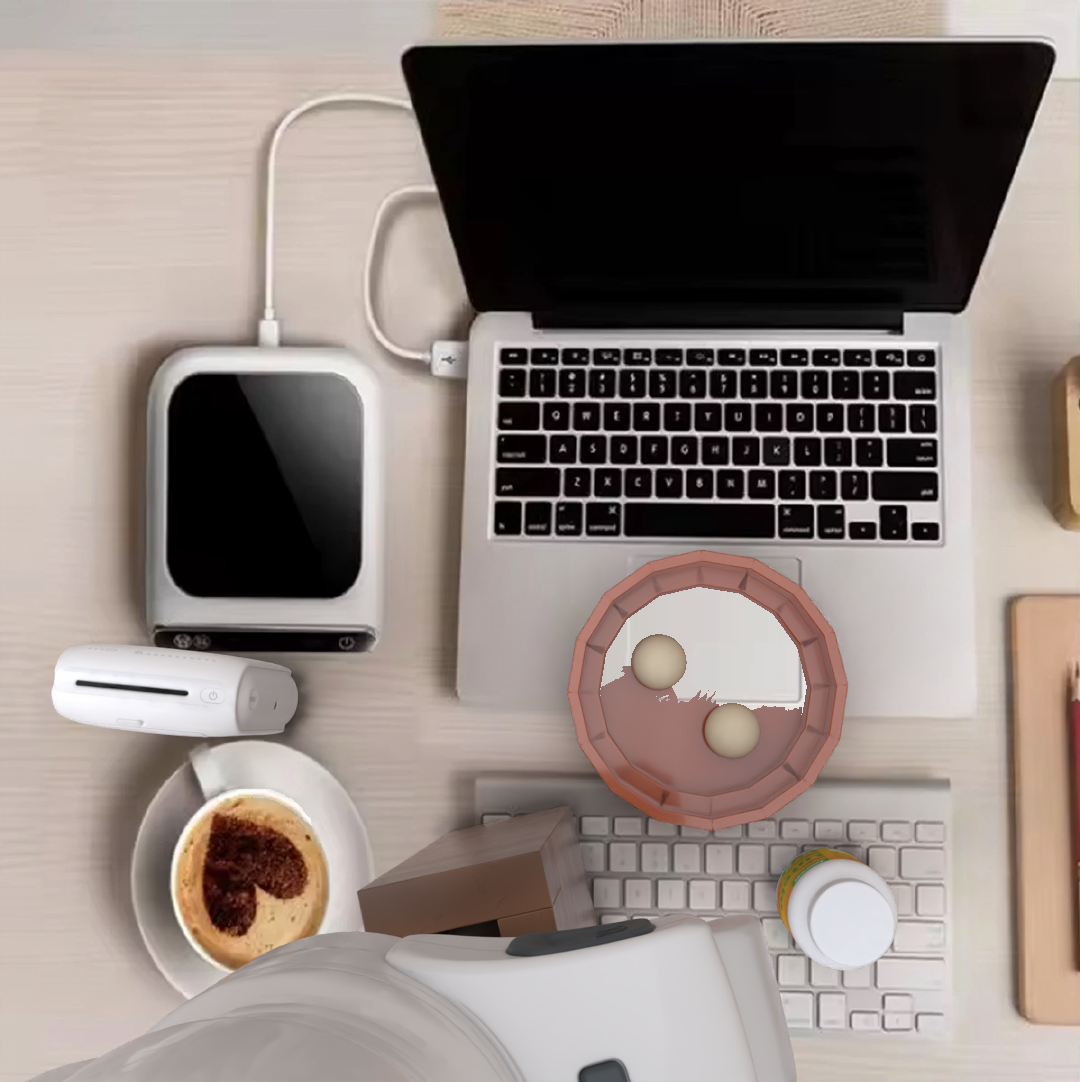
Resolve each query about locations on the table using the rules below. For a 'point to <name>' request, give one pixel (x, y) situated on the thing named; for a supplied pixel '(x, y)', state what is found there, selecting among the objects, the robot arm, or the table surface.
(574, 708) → the bowl
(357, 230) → the table surface
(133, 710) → the photo printer
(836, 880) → the supplement bottle
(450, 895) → the holder
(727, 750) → the dough ball
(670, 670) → the dough ball
